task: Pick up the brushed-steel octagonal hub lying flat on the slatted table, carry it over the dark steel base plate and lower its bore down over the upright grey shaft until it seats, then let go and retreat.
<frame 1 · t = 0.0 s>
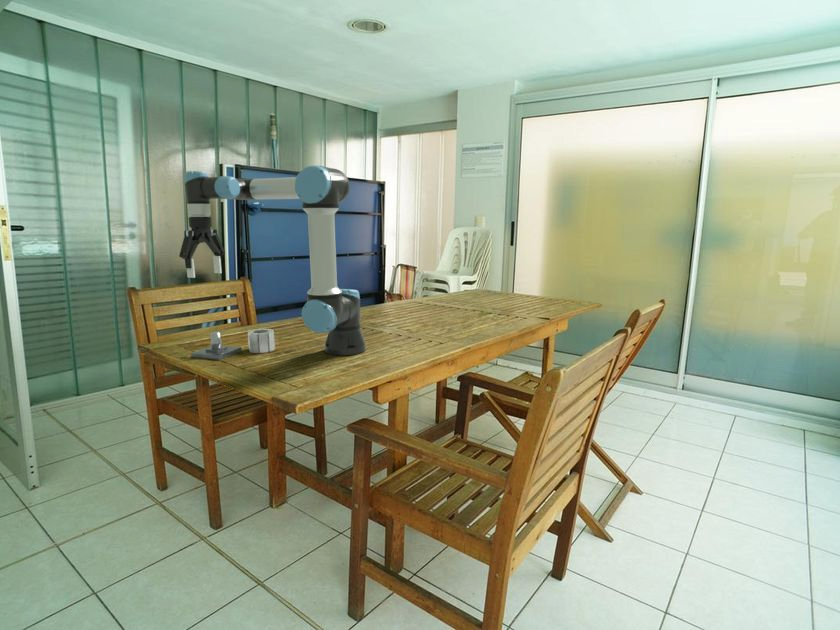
hand: (205, 275, 181), 28 cm above the table, fingers open, 13 cm apart
shaft block: (217, 354, 179), on the table
hub: (262, 349, 185), on the table
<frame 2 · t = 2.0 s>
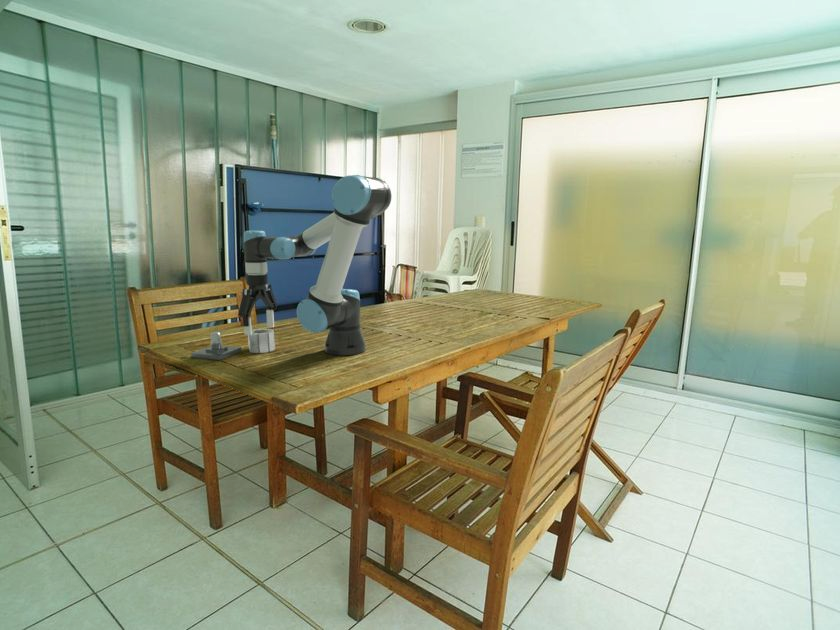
hand: (259, 330, 183), 7 cm above the table, fingers open, 13 cm apart
nothing on the table moved.
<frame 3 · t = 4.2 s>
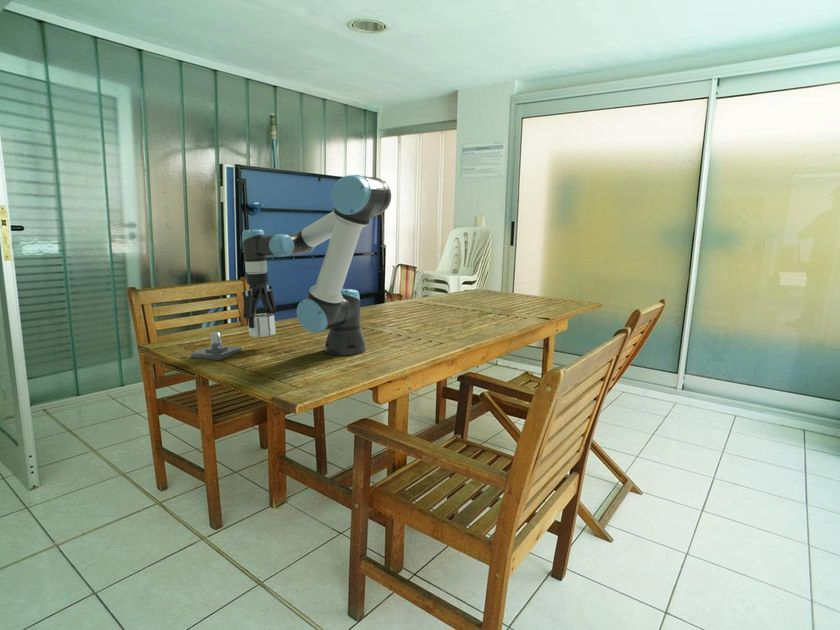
hand: (262, 333, 183), 6 cm above the table, fingers closed on hub, 9 cm apart
hub: (262, 334, 183), point 6 cm above the table, touching gripper
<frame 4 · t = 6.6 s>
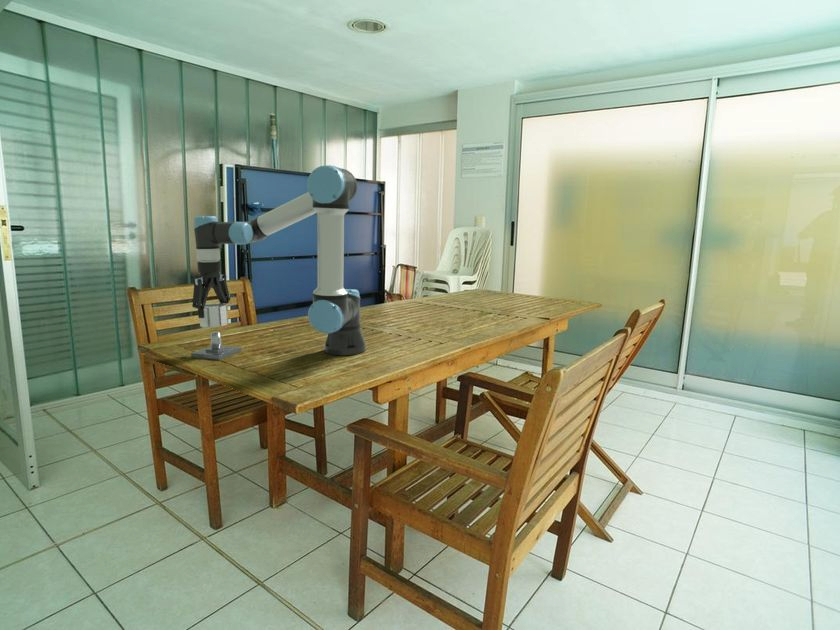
hand: (213, 323, 177), 11 cm above the table, fingers closed on hub, 9 cm apart
hub: (213, 324, 177), point 11 cm above the table, touching gripper
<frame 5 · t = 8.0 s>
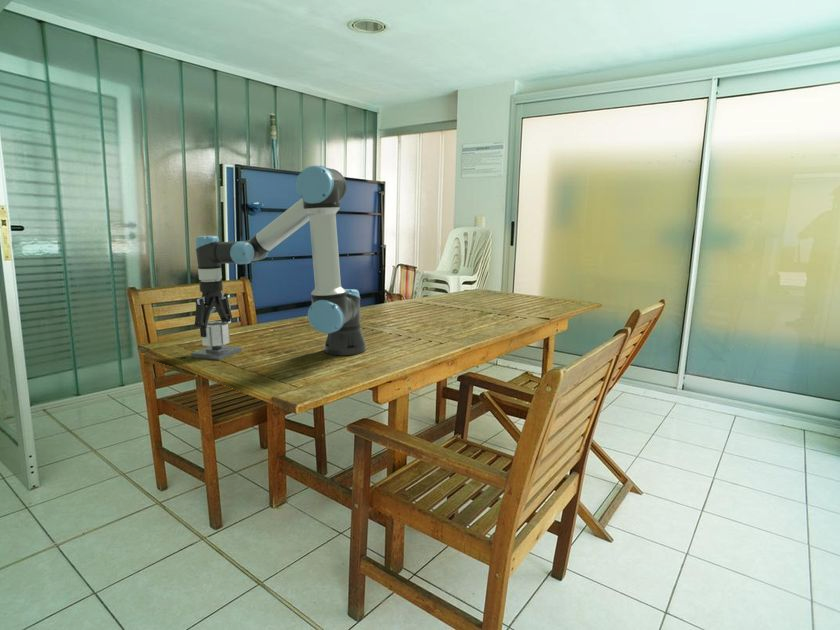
hand: (216, 342, 178), 4 cm above the table, fingers closed on hub, 9 cm apart
hub: (216, 342, 178), point 4 cm above the table, touching gripper
when the fingers open (4 cm above the table, at t = 9.0 s): hub drops 1 cm, resting on shaft block.
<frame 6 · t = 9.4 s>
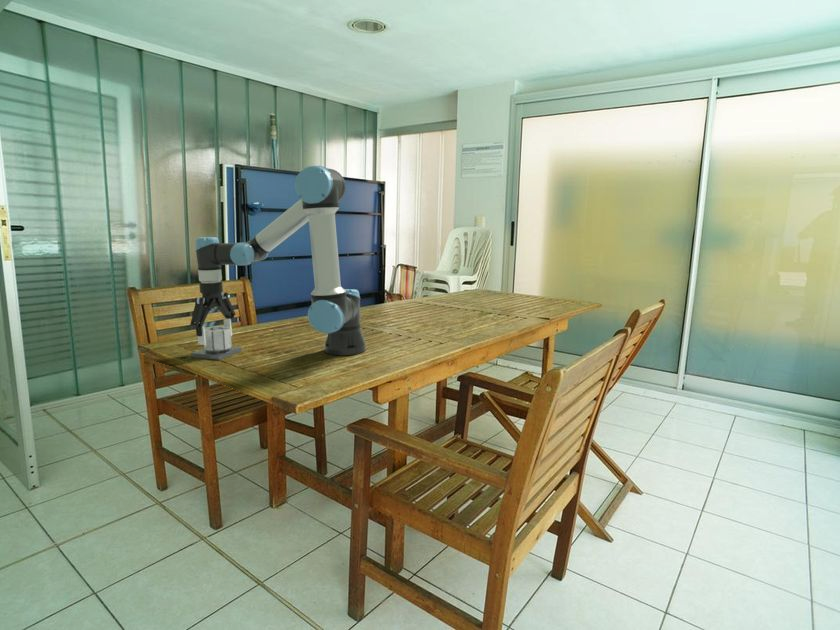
hand: (215, 340, 178), 5 cm above the table, fingers open, 13 cm apart
hub: (218, 347, 179), point 2 cm above the table, touching shaft block
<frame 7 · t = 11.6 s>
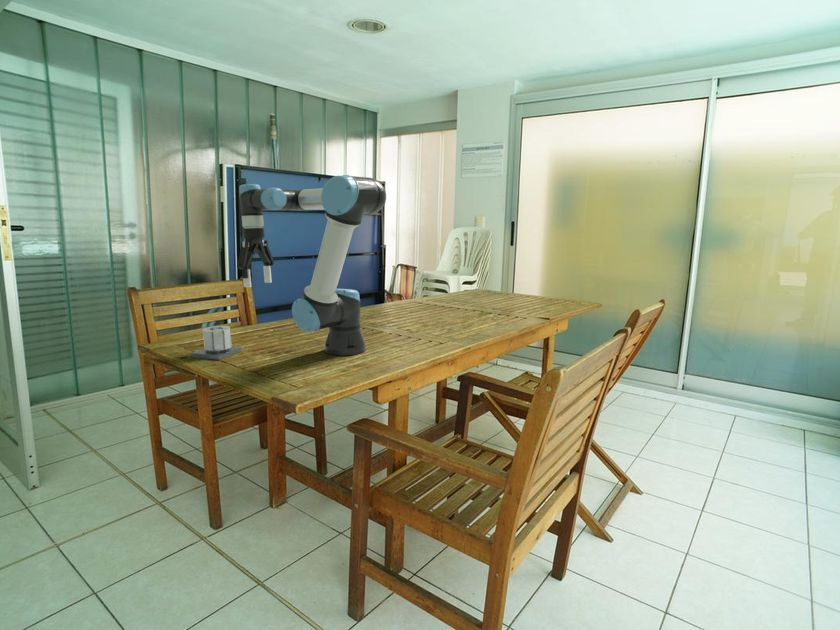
hand: (258, 284, 186), 24 cm above the table, fingers open, 13 cm apart
nothing on the table moved.
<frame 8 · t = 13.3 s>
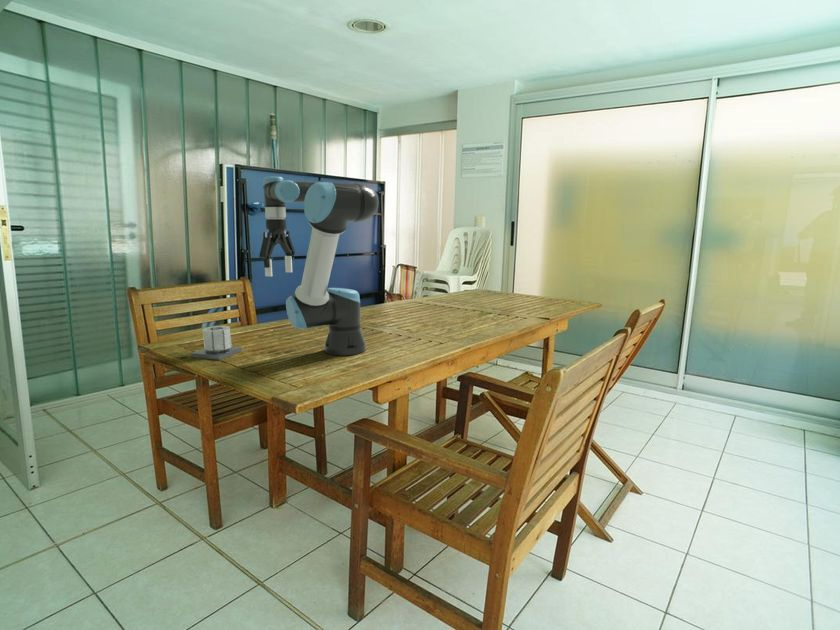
hand: (279, 274, 192), 27 cm above the table, fingers open, 13 cm apart
nothing on the table moved.
at the end: hub 0.8 cm off-centre on the shaft block, point 2.3 cm above the shaft block's base; hub tilted 0°; the gripper is holding nothing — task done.
